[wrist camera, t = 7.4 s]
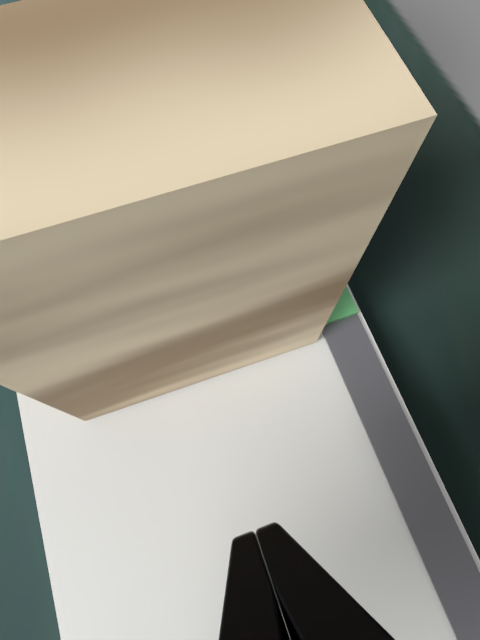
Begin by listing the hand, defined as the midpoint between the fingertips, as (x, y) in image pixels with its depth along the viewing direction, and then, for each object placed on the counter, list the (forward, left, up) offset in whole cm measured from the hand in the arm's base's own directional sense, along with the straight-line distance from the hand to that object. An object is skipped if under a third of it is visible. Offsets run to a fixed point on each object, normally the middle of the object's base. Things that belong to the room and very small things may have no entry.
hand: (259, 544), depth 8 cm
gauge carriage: (+6, -3, -6) cm, 9 cm away
